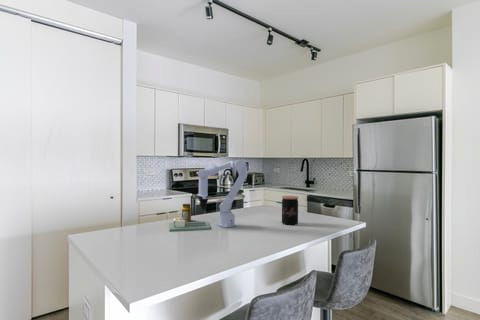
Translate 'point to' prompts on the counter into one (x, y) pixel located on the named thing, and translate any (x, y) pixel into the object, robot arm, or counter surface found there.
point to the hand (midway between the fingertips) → (202, 208)
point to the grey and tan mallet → (185, 217)
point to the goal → (179, 222)
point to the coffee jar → (290, 210)
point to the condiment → (187, 209)
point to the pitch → (190, 226)
